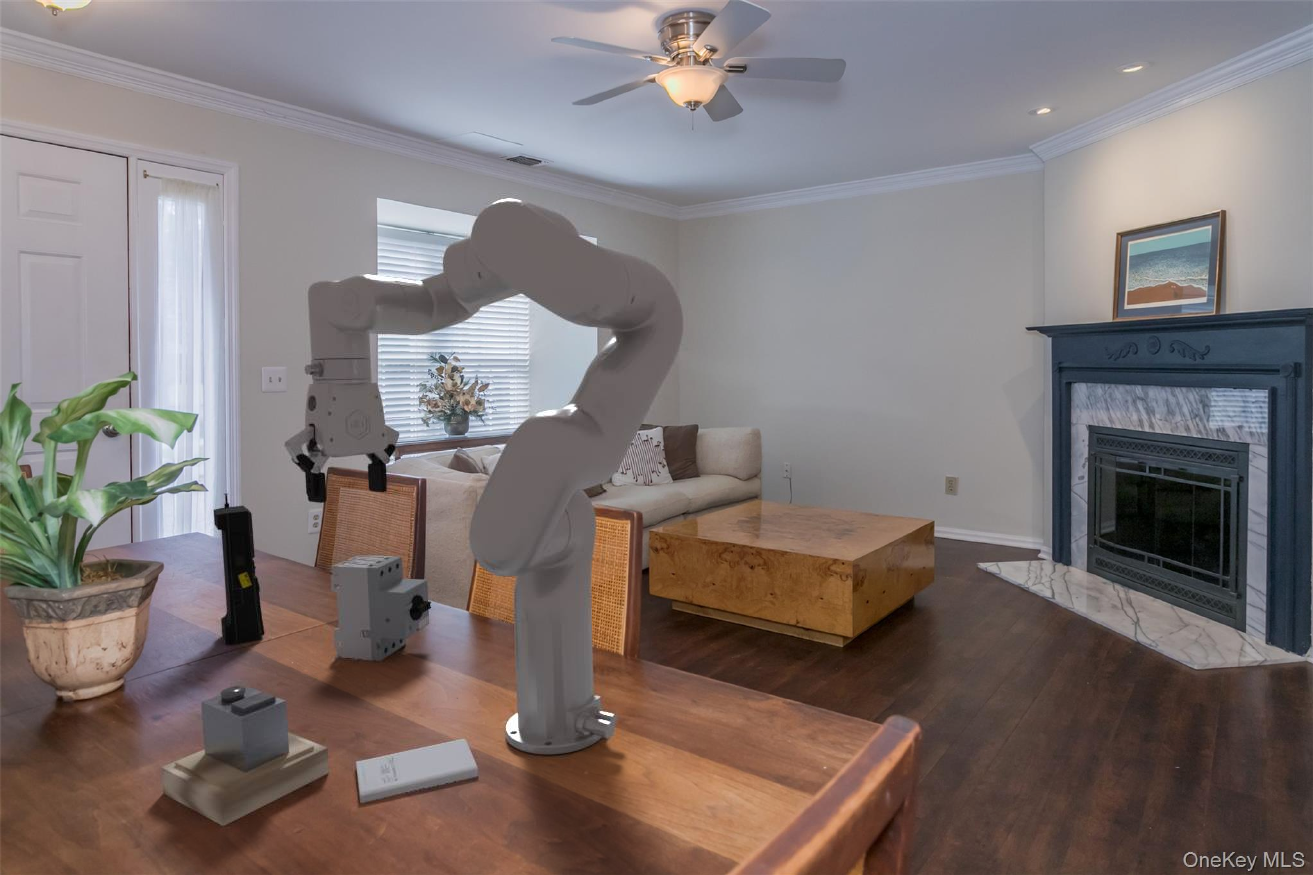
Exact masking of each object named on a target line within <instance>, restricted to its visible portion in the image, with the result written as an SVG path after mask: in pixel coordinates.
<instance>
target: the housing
mask: <svg viewBox="0 0 1313 875" xmlns="http://www.w3.org/2000/svg"><path fill="white" fill-rule="evenodd" d="M200 703H201V704H200V706H201V716H202V717H201V718H202V731H203V733H202V734H203V746H204V747H203V750H204V749H205V754H206V755H208V756H210V757H212V758H214V759H217V760H219V761H221V762H223V763H225V764H227V765H229V766H232V767H234V768H236V769H238V770H240V771H242V772H244V773H246V772H248V771H250V770H252V769H255V768H257V767H259V766H261V765H263V764H266V763H268V762H270V761H272V760H274V759H277V758H279V757H281V756H283V755H285V754H288V753H289V741H288V732H289V730H288V728H289V727H288V715H287V714H288V712H287V711H288V710H287V700H285V699H283V698H280V697H278V696H276V695H273V694H270V693H268V692H265V691H260V690H258V689H255V688H252V687H250V686H247V685H244V686H242V685H237V686H231V687H227V688H225V689H223V690H222V691H220V695H217V696H214V697H211V698H208V699H205V700H202V701H200Z"/></svg>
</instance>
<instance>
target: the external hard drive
mask: <svg viewBox="0 0 1313 875" xmlns="http://www.w3.org/2000/svg"><path fill="white" fill-rule="evenodd" d="M355 769H356V777H357V783H358V784H357V785H358V794H359V802H360V804H363V803H368V802H372V801H376V799H377V800H381V799H385V798H384V797H386V798H390V797H392V796H391V795H395V794H399V795H402V794H401V793H403V794H405V793H404V792H408V793H411V792H410V791H412V792H414V791H413V790H417V791H420V790H419V789H421V790H423V789H422V788H425V789H430V788H433V786H434V787H438V786H437V785H439V786H443V785H447V784H446V783H448V784H451V783H452V784H453V783H455V782H454V781H456V782H460V780H461V781H464V780H469V779H472V778H478V777H479V768H478V764H477V763H476V761H475V758H474V756H473V753H472V751H471V747H470V746H469V744H468V742H467V740H466V738H462V739H457V740H451V741H446V742H442V743H437V744H433V745H428V746H423V747H419V748H415V749H409V750H405V751H400V752H396V753H395V752H394V753H391V754H386V755H382V756H377V757H373V758H369V759H363V760H358V761H355ZM477 776H478V777H477ZM429 787H430V788H429ZM389 796H390V797H389ZM395 796H396V795H395Z"/></svg>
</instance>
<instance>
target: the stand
mask: <svg viewBox="0 0 1313 875" xmlns="http://www.w3.org/2000/svg"><path fill="white" fill-rule="evenodd" d="M288 741H289V753H288V754H285V755H283V756H281V757H279V758H277V759H274V760H272V761H270V762H268V763H266V764H263V765H261V766H259V767H257V768H255V769H252V770H250V771H248V772H246V773H244V772H242V771H240V770H238V769H236V768H234V767H232V766H229V765H227V764H225V763H223V762H221V761H219V760H217V759H214V758H212V757H210V756H208V755H206V754H205V749H204V748H203V749H202V750H199V751H197V752H193V753H192V754H190V755H187V756H185V757H182V758H180V759H178V760H175V761H173V762H170V763H167V764H165V765H163V766H160V772H161V784H162V794H163V795H165V796H167V797H168V798H170V799H172V800H173V801H176V802H178V803H180V804H182V805H184V806H185V807H187V808H189V809H190V810H193V811H195V812H196V813H198V814H200V815H201V816H204V817H205V818H207V819H209V820H211V821H212V822H214V823H216V824H219V826H221V827H225V826H226V825H229V824H230V823H232V822H234V821H237V820H238V819H241V818H242V817H244V816H246V815H249V814H250V813H253V812H255V811H256V810H258V809H260V808H263V807H264V806H266V805H268V804H270V803H272V802H274V801H276V800H278V799H280V798H282V797H285V796H286V795H288V794H291V793H292V792H294V791H296V790H298V789H300V788H302V787H304V786H306V785H308V784H311V783H312V782H314V781H316V780H318V779H320V778H322V777H324V776H326V775H328V774H330V770H329V769H330V766H329V752H328V751H329V749H328V747H327V746H325V745H321V744H319V743H316V742H314V741H311V740H309V739H306V738H304V737H301V736H299V735H296V734H294V733H291V732H289V731H288Z"/></svg>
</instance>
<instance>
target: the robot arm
mask: <svg viewBox="0 0 1313 875" xmlns="http://www.w3.org/2000/svg"><path fill="white" fill-rule="evenodd" d="M442 271H443V272H441V273H438V274H435V275H433V276H430V277H426V278H422V279H419V280H411V279H406V278H405V279H404V278H396V277H388V276H380V275H374V274H359V275H354V276H351V277H347V278H345V279H344V278H343V279H341V280H320V281H316V282H313V283H312V284H311V285H310V286H309V287H308V291H307V302H308V321H309V337H310V338H309V339H310V351H311V352H310V356H311V360H310V364H306V365H305V366H304V373H305V374H306V375H307V376H309V375H310V376H311V379H312V383H309V384H308V389H307V394H306V403H305V415H304V416H305V418H304V429H302V430H301V431H299V432H298V433H296V434H295V435H294V436H292V437H290V438H288V439H287V440H286V441H285V442H284V447H285V449H286V450H287V452H288V455H290V457H291V461H292V463H294V464H295V465H296V466H297V467H298V468H300V472H302V473H304V475H305V476H304V477H305V491H306V492H305V494H306V496H307V501H308V502H311V503H317V504H322V503H323V504H324V503H327V502H326V501H327V500H328V499H327V498H328V497H327V482H326V474H325V472H321V471H322V469H323V468H324V466H325V464H326V463H327V462H328V460H329V458H346V457H352V456H353V457H354V456H362V455H365V456H366V457H367V458H368V459H369V461H370V463H368V464H367V478H368V481H367V482H368V491H371V492H376V493H386V492H387V491H388V487H387V486H388V485H387V483H388V481H387V480H388V476H387V465H388V464H389V463H390V462H391V457H392V456H393V454H394V453H395V452H396V446H397V443H398V440H399V437H400V431H398V430H396V429H394V428H393V427H390V426H389V425H387V424H386V418H385V411H384V404H383V401H382V396H381V391H380V389H379V385H378V382H372V360H371V339H370V335H371V334H373V335H374V334H375V335H397V336H398V335H403V336H422V335H427V334H429V333H435V332H437V331H440V330H443V329H445V328H446V329H447V328H449V327H450V328H451V327H454V326H456V325H458V324H460V323H463V322H466V321H468V320H469V319H470V318H472V317H473V316H474V315H475V314H477V313H478V312H479V311H480V310H481V308H483V307H486V306H488V305H491V304H495V303H498V302H500V301H503V300H507V299H510V298H512V297H513V298H514V297H515V296H519V295H523V296H525V297H526V298H528V299H530V300H532V301H533V302H534V303H536V304H538V305H539V306H541V307H542V308H544V309H546V310H547V311H549V312H550V313H552V314H554V315H556V316H557V317H559V318H561V319H563V320H565V321H567V322H569V323H572V324H574V325H576V326H577V325H578V326H582V327H586V328H596V329H597V328H598V329H599V328H600V329H611V334H610V337H609V338H608V340H607V342H606V343H605V344H604V345H603V346H602V348H601V349H600V350H599V352H598V353H597V354H596V355H595V356H594V358H593V359H592V360H591V362H590V363H589V366H587V368H586V371H585V373H584V376H583V378H582V380H581V382H580V384H579V386H578V387H577V389H576V391H575V393H574V395H573V396H572V398H571V400H570V401H569V402H568V404H567V405H566V406H564V407H562V408H557V409H549V410H544V411H540V412H537V413H535V414H533V415H531V416H530V417H528V418H527V419H525V420H523V421H522V423H521V424H519V426H517V427H516V429H515V430H514V431H513V433H512V434H511V435H510V437H509V439H508V440H507V442H506V444H505V445H504V448H503V450H502V452H501V453H500V455H499V458H498V460H497V462H496V464H495V466H494V468H493V470H492V472H491V474H490V477H489V479H488V480H487V483H486V485H485V487H484V488H483V491H482V493H481V494H480V497H479V499H478V500H477V504H476V506H475V508H474V511H473V513H472V517H471V520H470V525H469V531H468V532H469V534H468V535H469V536H468V538H469V545H470V550H471V552H472V555H473V557H474V559H475V561H476V562H477V563H478V564H479V566H480V567H481V568H482V569H483V570H485V571H486V572H488V573H489V574H491V575H493V576H497V577H503V578H514V577H515V580H514V587H513V621H514V622H513V623H514V650H515V651H514V652H515V653H514V654H515V676H516V677H515V678H516V680H515V682H516V684H515V685H516V703H517V704H516V709H517V712H516V713H515V714H514V715H512V716H511V717H510V718H509V719H508V721H507V722H506V725H505V728H504V729H505V730H504V731H505V732H504V733H505V734H504V736H505V738H506V741H507V742H508V743H509V744H510V745H511V746H512V747H514V748H515V749H517V750H519V751H522V752H525V753H528V754H529V753H530V754H536V755H550V756H551V755H561V754H567V753H573V752H577V751H580V750H583V749H585V748H586V749H587V748H588V747H590V746H592V745H593V744H595V743H597V742H598V741H599V740H601V739H602V738H604V739H611V738H612V737H613V735H614V732H615V725H616V724H617V722H618V714H616V713H613V712H610V711H604V710H603V709H602V700H601V696H599V695H595V693H594V692H595V691H594V664H593V663H594V661H593V657H594V656H593V629H592V628H593V625H592V624H593V622H592V567H593V566H592V565H593V557H594V548H595V543H596V534H597V533H596V532H597V518H596V511H595V509H594V505H593V503H592V500H591V499H590V498H589V496H588V494H587V493H586V492H585V491H584V490H586V489H589V488H593V487H596V486H598V485H601V484H603V483H605V482H607V481H608V480H610V479H611V478H612V477H613V476H614V475H615V474H616V473H617V472H618V470H619V468H620V467H621V464H622V463H623V461H624V459H625V457H626V454H627V453H628V451H629V449H630V447H631V445H632V443H633V441H634V439H636V438H635V437H636V435H637V434H638V432H639V430H640V428H641V426H642V424H643V422H644V420H645V419H646V417H647V415H648V412H649V411H650V409H651V406H652V404H653V402H654V400H655V399H656V397H657V395H658V393H659V391H660V389H661V387H662V385H663V384H664V383H665V381H666V378H667V376H668V375H669V373H670V371H671V369H672V367H673V365H674V363H675V361H676V358H677V355H678V353H679V350H680V346H681V345H682V344H681V342H682V339H683V334H684V333H683V332H684V317H683V316H684V315H683V308H682V305H681V302H680V298H679V297H678V296H679V295H678V294H677V291H676V289H675V288H674V286H673V284H672V283H671V281H670V280H669V279H668V278H667V276H666V275H665V273H664V272H662V271H661V270H660V269H659V268H657V267H656V266H655V265H653V264H652V263H650V262H648V261H647V260H644V259H642V258H639V257H637V256H634V255H631V254H627V253H623V252H619V251H615V250H612V249H609V248H605V247H602V246H599V245H597V244H595V243H594V242H591V241H589V240H587V239H586V238H584V237H582V236H580V235H579V232H578V230H577V228H576V227H575V226H574V224H573V223H571V221H570V220H569V219H568V218H566V217H565V216H564V215H562V214H561V213H558V212H556V211H554V210H552V209H548V208H545V207H542V206H540V205H536V204H533V203H530V202H528V201H525V200H522V199H515V198H505V199H500V200H497V201H495V202H493V203H491V204H489V205H487V206H486V207H484V208H483V210H482V211H480V213H479V214H478V215H477V217H476V218H475V220H474V222H473V225H472V228H471V233H470V235H469V236H466V237H463V238H461V239H457V240H455V241H453V242H452V243H450V244H449V245H448V246H447V248H446V249H445V251H444V253H443V258H442ZM304 444H305V447H306V450H307V453H308V454H307V455H306V454H305V453H304V450H303V446H304Z"/></svg>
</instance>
